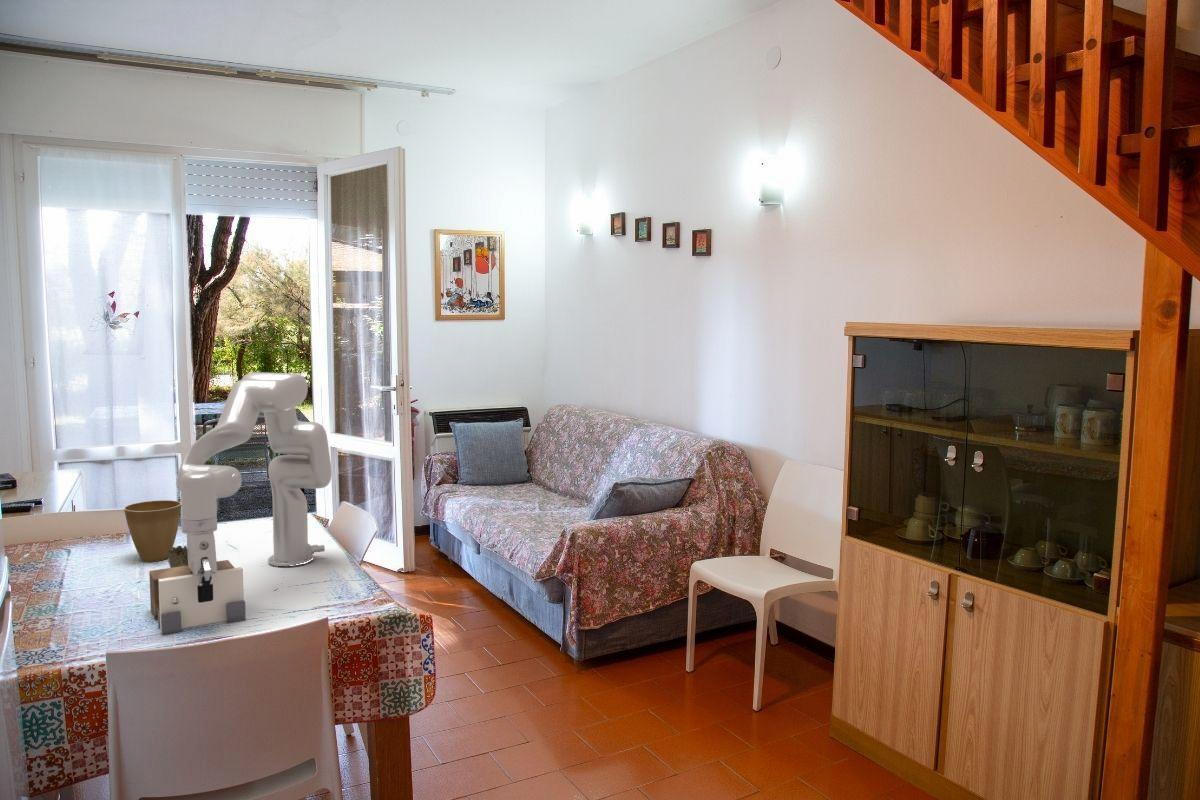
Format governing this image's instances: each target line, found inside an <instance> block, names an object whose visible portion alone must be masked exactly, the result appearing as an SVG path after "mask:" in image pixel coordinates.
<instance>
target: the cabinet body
mask: <svg viewBox="0 0 1200 800" xmlns="http://www.w3.org/2000/svg"><path fill="white" fill-rule="evenodd" d="M216 563H217V571H218V570H225V569H232V568H235V566H234V565H233V563H231V562H230V560H229V559H225V560H219V561H217V560H216ZM148 571H149V572H148V574H149V595H150V596H149V598H150V600H149V602H150V611H151V613H152V616H153V618H154V620H155V621H158V608H159V581H158V579H163V578H170V577H177V576H184V575H190V574H191V573H190V568H189V565H188V566H181V567H173V568H170V567H167V568H161V569H151V570H148ZM203 572H204V571H203ZM192 574H193V573H192Z"/></svg>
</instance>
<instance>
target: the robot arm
mask: <svg viewBox="0 0 1200 800" xmlns="http://www.w3.org/2000/svg"><path fill="white" fill-rule="evenodd" d="M308 389H309V387H308V382H307V380H306V379H305V377H304V376H303V375H301V374H299V373H287V372H285V373H284V372H262V371H261V372H259V371H258V372H257V371H256V372H255V371H253V372H249V373H247V374H245V375H243V377H242V378H241V379H240V380H238V381H236V382H235V383H233V385H232V387H231V389H230V391H229V393H228V396H227V398H226V401H225V403H224V406H223V409H222V411H221V414H220V416H219V419H218V422H217V424H216V426H215V427H214V428H211V429H210V430H209V431H207V432H206V433H204V434H203V435H201V437H199V438H198V439H197V440H196V441H194V442H193V444H191V445H190V447H188V450H187V451H186V453H185V454H184V457H183V459H182V462H181V464H180V467H179V469H178V473H177V479H176V484H177V488H178V490H179V492H180V502H181V512H180V519H181V533H183V534H184V535H186V547H187V555H188V565H189V568H190V573H191V574H192V573H193V574H194V575H196V576H198V582H199V585H198V586H197V588H198V602H199V603H202V602H208V601H212V600H213V583H212V576H211V572H212V573H216V572H217V563H216V561H217V552H216V550H217V549H216V540H215V534H214V532H216V531H217V530H218V516H217V514H218V508H217V506H218V505H217V499H221V498H227V497H231V496H233V495H234V494H236V493H238V491H239V490H240V488H241V486H242V484H243V478H242V477H243V476H242V474H241V472H240V471H239V470H238V469H237V468H236V467H233V466H231V465H217V464H216V465H215V464H205V463H206V462H207V461H208V460H209V459H210V458H212V457H213V456H215V455H217V454H218V453H221V452H223V451H226V450H229V449H231V448H234V447H237V446H239V445H241V444H244V443H246V442H248V441H249V440H250V439H251V437H252V436H253V432H254V429H255V426H256V424H257V422H258V418H259V416H260V414H261V413H263V417H264V423H265V429H266V435H267V440H268V444H269V447H270V449H271V450H272V452H273V453H276V454H281V455H277V456H275V457H274V458H272V459H271V461H270V463H269V464H268V468H267V469H268V470H267V471H268V473H267V474H268V479H269V484H270V487H271V497H272V532H273V533H272V534H273V535H272V536H273V537H272V538H273V539H272V541H273V555H270V556H269V557H268V559H267V563H268V564H269V565H270V564H271V565H270V566H273V565H274V566H273V567H278V566H290V565H296V564H300V563H304V562H307V561H309V560H311V559H312V558H313V557H314V554H315V553H320V552H321V553H323V552H325V551H326V548H325V545H324V544H322V545H321V544H320V545H318V544H313V545H311V544H309V536H308V535H309V533H308V532H309V528H308V526H309V525H308V501H307V498H306V496H305V494H304V492H303V491H302V490H301V489H324V488H326V487H327V486H329V484H330V483H331V480H332V472H333V471H332V463H331V456H330V449H329V441H328V436H327V431H326V429H325V427H324V426H323V425H322V424H321V423H318V422H314V421H300V420H299V419H298V416H297V411H296V407H297V406H299V405H301V404H302V403H303V402H305V400H306V397H307V395H308ZM203 571H204V572H203ZM191 574H190V575H191ZM201 576H203V577H202V580H201Z"/></svg>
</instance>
